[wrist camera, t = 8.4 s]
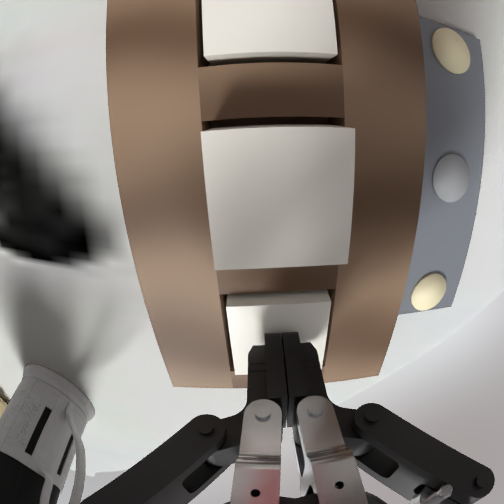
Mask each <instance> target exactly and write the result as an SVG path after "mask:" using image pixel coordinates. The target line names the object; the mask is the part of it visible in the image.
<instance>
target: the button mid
mask: <svg viewBox="0 0 504 504" xmlns="http://www.w3.org/2000/svg"><path fill="white" fill-rule="evenodd" d="M201 143H202V155H203V166H204V177H205V188H206V198H207V207H208V217H209V226H210V234H211V243H212V252H213V260H214V268H215V270H236V269H260V268H282V267H302V266H322V265H340V264H348V257H349V247H350V236H351V224H352V210H353V194H354V171H355V128H349V127H342V126H335V125H322V124H274V125H248V126H232V127H219V128H212V129H208V130H205V131H202V132H201Z"/></svg>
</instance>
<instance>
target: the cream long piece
mask: <svg viewBox="0 0 504 504" xmlns="http://www.w3.org/2000/svg"><path fill="white" fill-rule="evenodd" d="M6 407H7V403H6V402H4V401H3V400H2V398H1V397H0V418H1V416H2V414H3V412H4V410H5V409H6Z"/></svg>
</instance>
